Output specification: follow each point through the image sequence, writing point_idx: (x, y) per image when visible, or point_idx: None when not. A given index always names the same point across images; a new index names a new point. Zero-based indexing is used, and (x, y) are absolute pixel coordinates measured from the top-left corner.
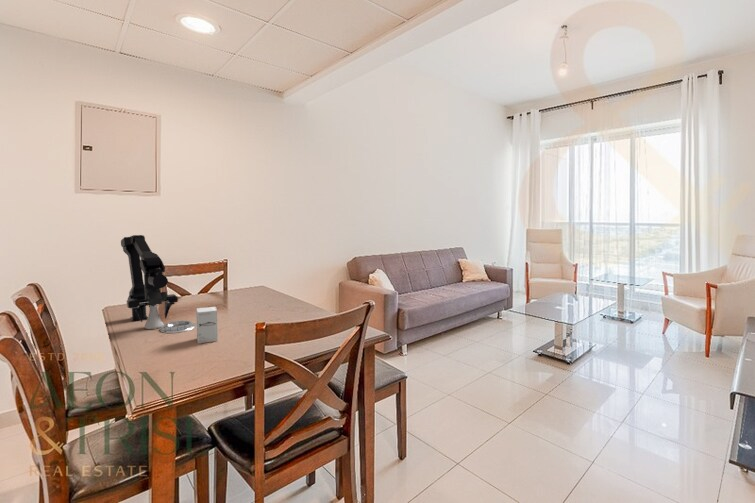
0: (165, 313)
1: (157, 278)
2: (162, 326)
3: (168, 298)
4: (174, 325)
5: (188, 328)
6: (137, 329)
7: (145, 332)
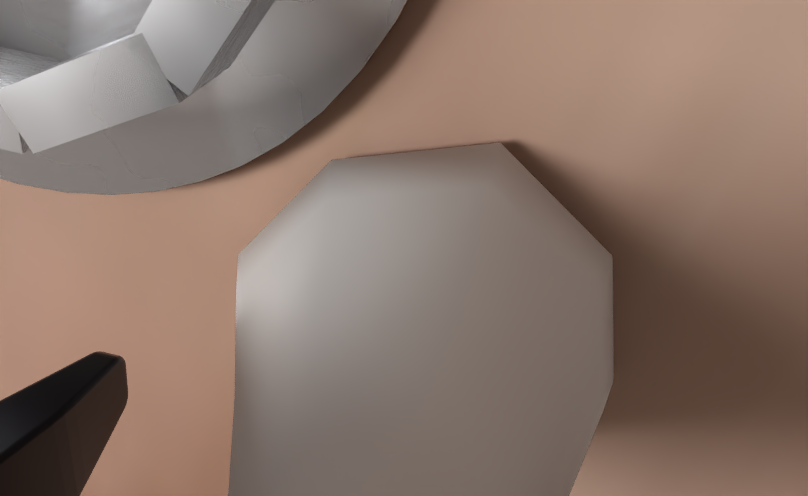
0: (11, 459)
1: None
2: (289, 202)
3: None
4: (35, 23)
5: None
6: (723, 411)
7: (795, 51)
